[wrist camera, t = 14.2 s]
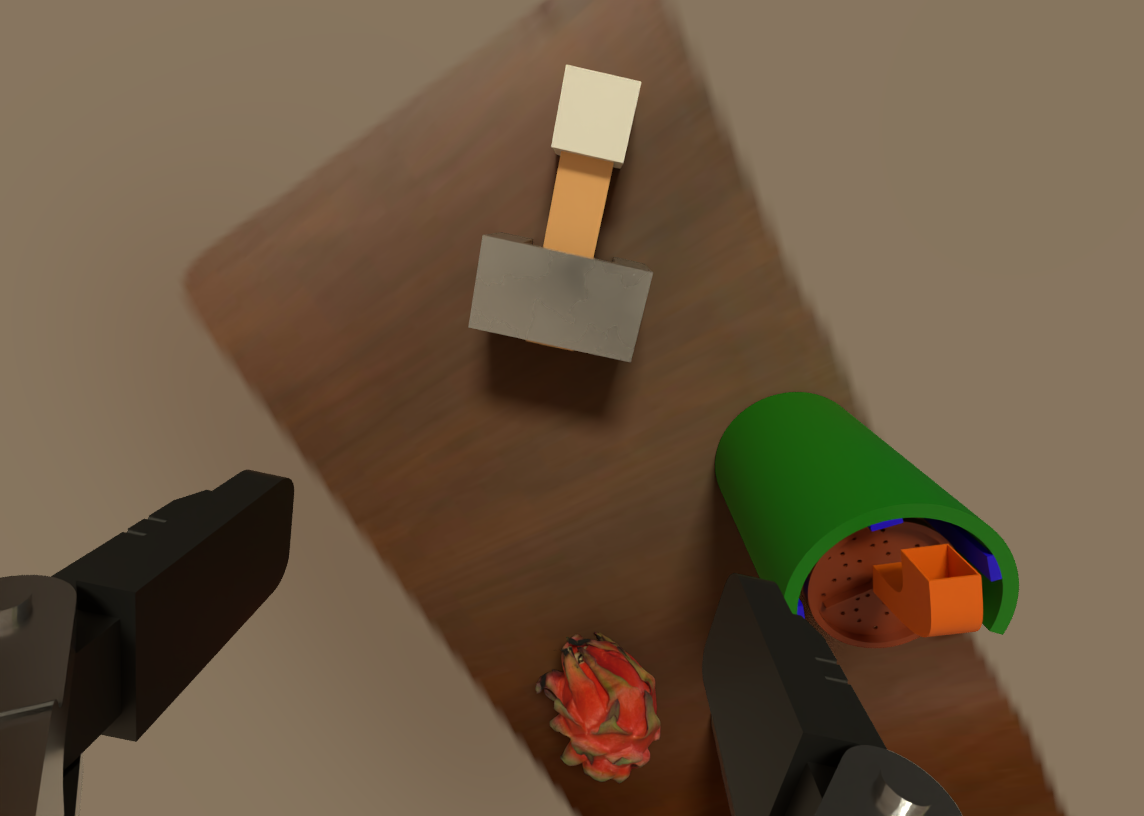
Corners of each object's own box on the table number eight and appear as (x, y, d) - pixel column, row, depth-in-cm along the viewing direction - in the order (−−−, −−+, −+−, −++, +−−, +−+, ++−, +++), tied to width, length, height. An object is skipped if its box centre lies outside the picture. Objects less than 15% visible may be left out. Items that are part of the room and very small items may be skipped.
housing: (625, 339, 39) (630, 362, 32) (489, 310, 38) (468, 327, 32) (644, 263, 37) (653, 272, 31) (501, 232, 37) (482, 234, 31)
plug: (582, 343, 39) (580, 356, 35) (523, 330, 39) (515, 342, 35) (636, 96, 34) (641, 81, 30) (569, 81, 34) (566, 64, 30)
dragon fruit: (621, 717, 50) (572, 594, 49) (705, 740, 44) (653, 600, 43) (557, 796, 44) (499, 659, 43) (645, 835, 38) (582, 677, 37)
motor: (731, 528, 43) (839, 777, 24) (697, 418, 40) (786, 598, 21) (872, 487, 41) (1108, 719, 22) (846, 371, 39) (1086, 519, 20)
